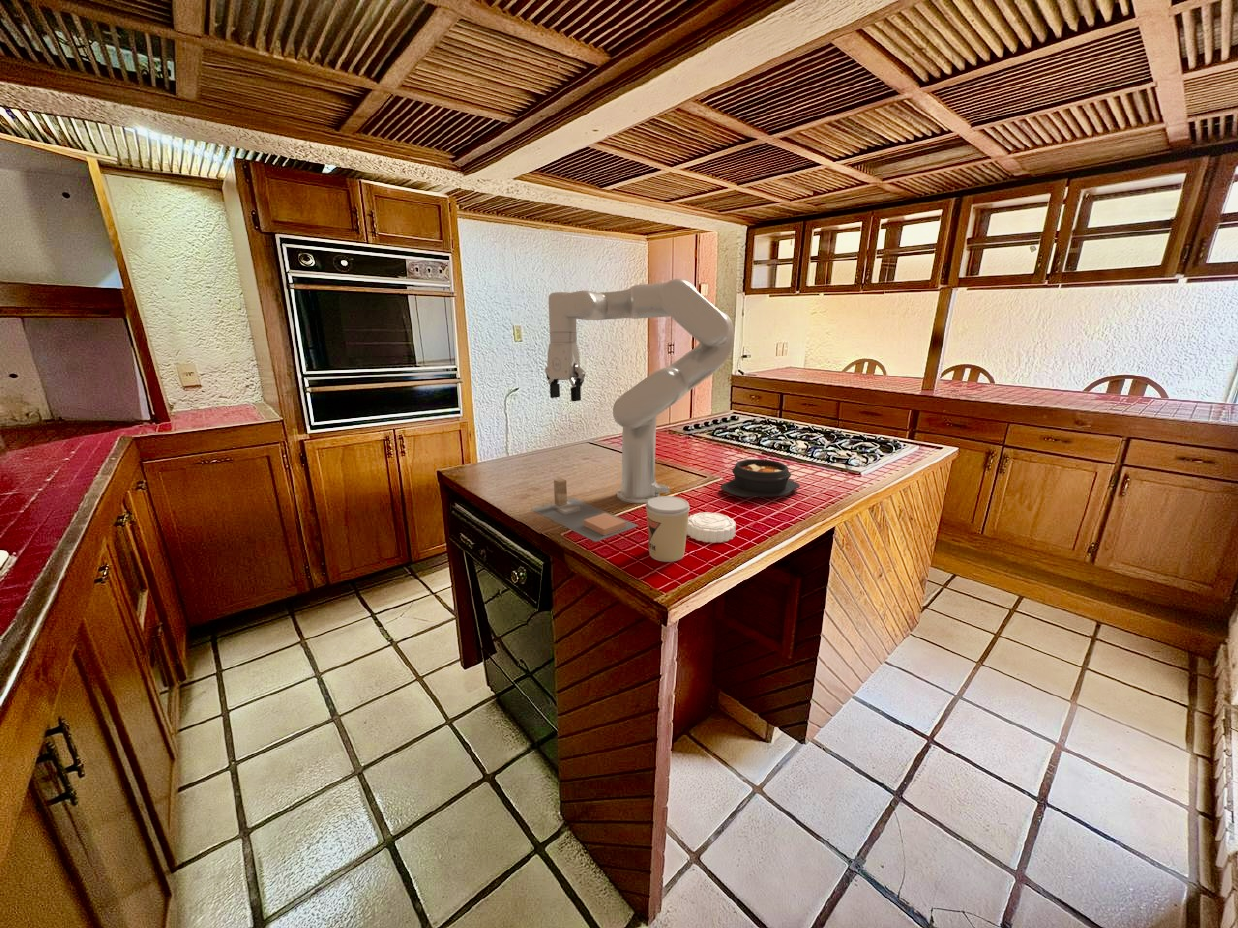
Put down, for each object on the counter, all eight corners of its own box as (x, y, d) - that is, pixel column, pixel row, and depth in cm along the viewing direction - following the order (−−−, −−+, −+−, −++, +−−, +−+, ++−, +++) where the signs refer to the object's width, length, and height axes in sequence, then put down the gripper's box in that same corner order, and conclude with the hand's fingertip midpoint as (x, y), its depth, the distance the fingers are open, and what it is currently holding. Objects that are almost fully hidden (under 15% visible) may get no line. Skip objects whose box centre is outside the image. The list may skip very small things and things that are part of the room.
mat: (531, 510, 131) (531, 509, 131) (572, 498, 140) (572, 497, 140) (595, 543, 111) (595, 541, 111) (638, 526, 120) (638, 525, 120)
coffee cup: (642, 545, 110) (643, 496, 107) (682, 543, 111) (684, 494, 107) (648, 564, 101) (649, 511, 98) (692, 562, 102) (694, 510, 98)
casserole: (746, 508, 132) (748, 479, 130) (707, 488, 148) (708, 462, 146) (814, 495, 142) (817, 468, 140) (770, 478, 158) (772, 453, 156)
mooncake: (711, 519, 125) (712, 507, 124) (746, 536, 115) (747, 522, 114) (675, 530, 119) (675, 516, 118) (708, 548, 109) (709, 533, 108)
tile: (583, 519, 119) (604, 529, 114) (604, 512, 124) (625, 521, 118) (583, 526, 120) (604, 536, 114) (605, 518, 124) (625, 528, 119)
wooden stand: (550, 507, 132) (549, 480, 130) (565, 503, 135) (564, 477, 133) (565, 514, 127) (564, 486, 125) (580, 510, 130) (579, 482, 128)
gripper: (534, 338, 139) (537, 397, 143) (572, 339, 127) (574, 403, 132) (555, 338, 144) (557, 395, 148) (593, 339, 132) (594, 401, 137)
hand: (565, 399), depth 140 cm, fingers open, 9 cm apart
